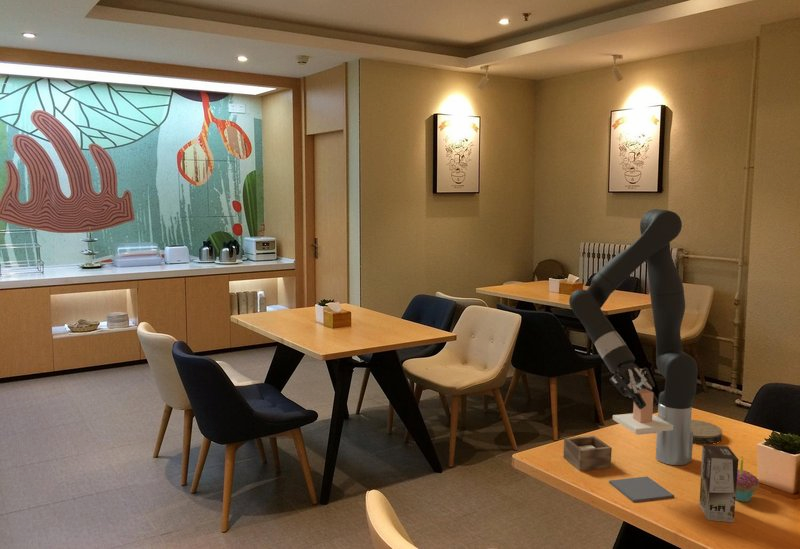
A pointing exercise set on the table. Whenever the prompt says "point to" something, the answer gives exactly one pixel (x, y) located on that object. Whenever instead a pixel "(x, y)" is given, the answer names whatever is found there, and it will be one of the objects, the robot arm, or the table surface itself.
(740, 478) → the cupcake
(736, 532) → the table surface
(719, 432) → the tin can
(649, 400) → the lid
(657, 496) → the mat
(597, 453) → the box
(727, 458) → the coffee box
